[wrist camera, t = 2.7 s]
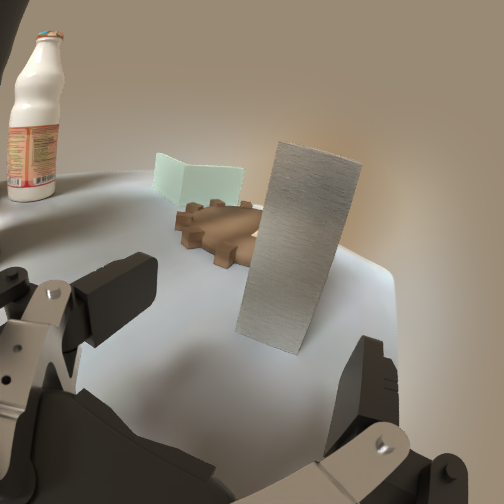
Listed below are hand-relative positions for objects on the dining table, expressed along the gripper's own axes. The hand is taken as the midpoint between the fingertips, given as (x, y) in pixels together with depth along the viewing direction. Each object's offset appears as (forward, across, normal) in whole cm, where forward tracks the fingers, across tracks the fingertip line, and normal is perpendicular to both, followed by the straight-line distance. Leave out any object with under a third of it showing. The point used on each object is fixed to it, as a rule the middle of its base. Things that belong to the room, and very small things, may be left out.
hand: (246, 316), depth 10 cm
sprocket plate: (+28, +8, +8) cm, 31 cm away
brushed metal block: (+11, 0, +8) cm, 14 cm away
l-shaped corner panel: (+39, +24, +9) cm, 47 cm away
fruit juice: (+16, +45, +8) cm, 49 cm away
